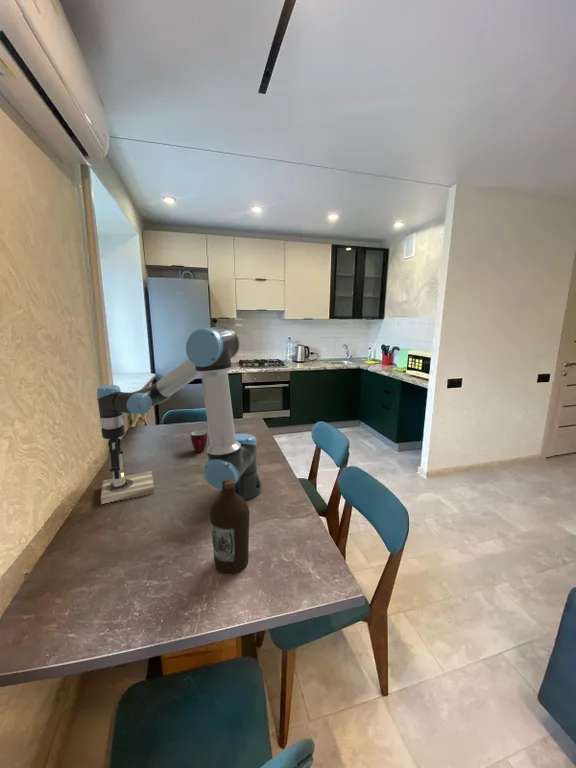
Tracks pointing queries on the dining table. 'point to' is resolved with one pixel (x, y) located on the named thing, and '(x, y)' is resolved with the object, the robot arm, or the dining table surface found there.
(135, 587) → the dining table surface
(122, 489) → the jig
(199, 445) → the mug
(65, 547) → the dining table surface
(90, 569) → the dining table surface
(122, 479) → the cylinder with metal cap
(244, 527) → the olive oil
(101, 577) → the dining table surface
